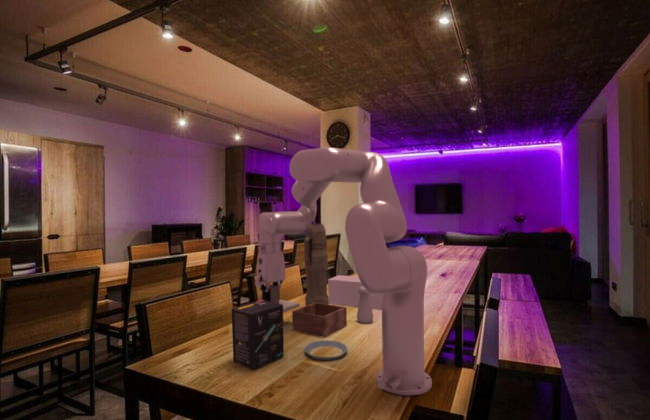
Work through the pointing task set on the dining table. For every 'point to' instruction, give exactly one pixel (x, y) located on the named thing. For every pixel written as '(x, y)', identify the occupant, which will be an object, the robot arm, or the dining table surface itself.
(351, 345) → the dining table surface
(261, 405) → the dining table surface
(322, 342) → the saucer
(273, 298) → the lid
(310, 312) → the box
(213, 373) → the dining table surface
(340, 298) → the pink rectangular block
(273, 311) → the tampon box
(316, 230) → the thermos
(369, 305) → the salt shaker
